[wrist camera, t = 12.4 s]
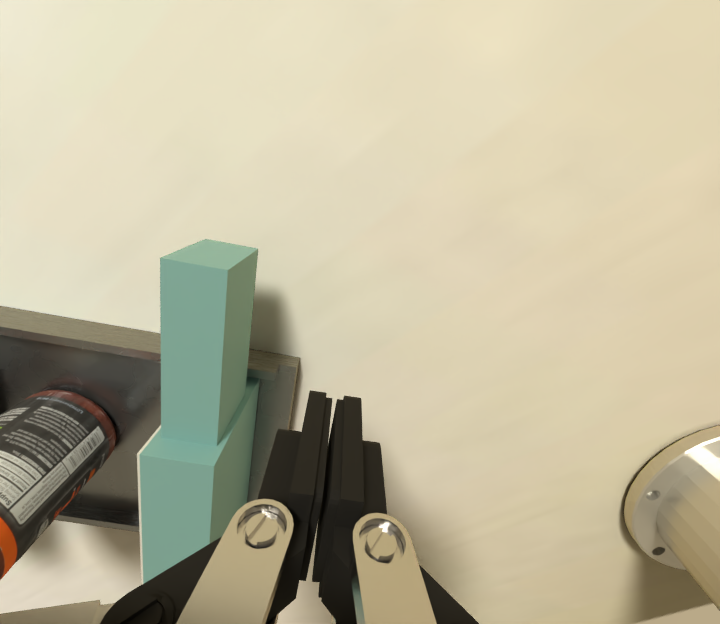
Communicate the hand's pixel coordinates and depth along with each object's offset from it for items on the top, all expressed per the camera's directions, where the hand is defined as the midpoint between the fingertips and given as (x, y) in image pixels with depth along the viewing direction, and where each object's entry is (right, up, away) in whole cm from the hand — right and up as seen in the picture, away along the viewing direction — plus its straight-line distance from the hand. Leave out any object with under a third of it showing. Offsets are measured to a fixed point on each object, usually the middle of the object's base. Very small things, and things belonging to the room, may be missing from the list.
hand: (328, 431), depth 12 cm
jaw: (-7, -1, +10) cm, 12 cm away
